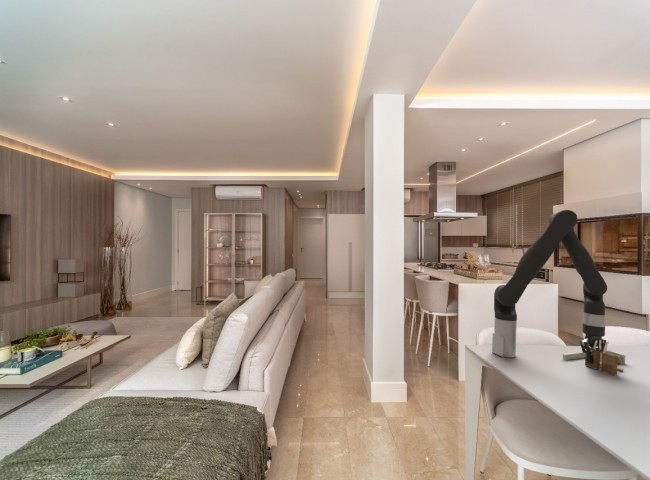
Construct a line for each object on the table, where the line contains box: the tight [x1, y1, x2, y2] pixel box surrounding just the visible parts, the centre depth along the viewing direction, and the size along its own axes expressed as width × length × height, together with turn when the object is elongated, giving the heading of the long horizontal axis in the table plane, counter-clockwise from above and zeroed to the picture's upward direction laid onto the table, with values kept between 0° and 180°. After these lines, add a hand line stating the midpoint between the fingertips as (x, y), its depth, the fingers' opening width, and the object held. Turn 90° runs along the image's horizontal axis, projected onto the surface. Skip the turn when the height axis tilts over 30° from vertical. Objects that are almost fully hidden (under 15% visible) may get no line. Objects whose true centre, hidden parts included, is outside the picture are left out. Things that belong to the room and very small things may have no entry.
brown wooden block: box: [600, 352, 624, 376], centre depth 130 cm, size 10×4×8 cm, turn 108°
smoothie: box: [600, 338, 610, 362], centre depth 144 cm, size 6×6×14 cm
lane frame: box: [562, 349, 626, 365], centre depth 142 cm, size 24×11×4 cm, turn 108°
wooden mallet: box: [584, 347, 622, 370], centre depth 141 cm, size 20×10×8 cm, turn 108°
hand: (592, 362), depth 135 cm, fingers closed on wooden mallet, 3 cm apart
